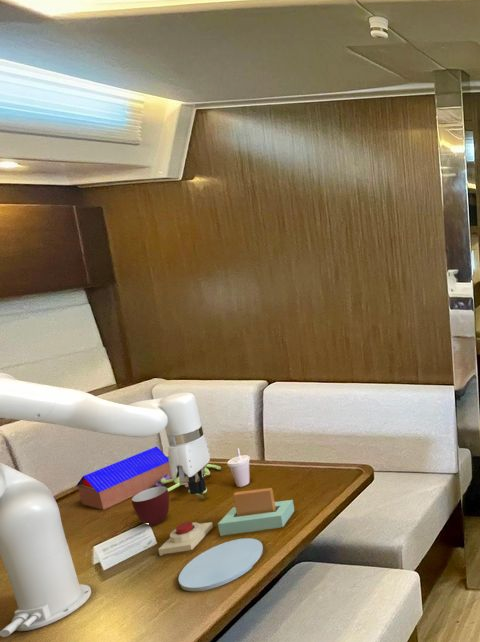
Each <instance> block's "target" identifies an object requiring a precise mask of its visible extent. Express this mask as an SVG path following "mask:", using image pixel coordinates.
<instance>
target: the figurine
mask: <svg viewBox="0 0 480 642" xmlns="http://www.w3.org/2000/svg"><path fill="white" fill-rule="evenodd" d="M209 468H210V469H213V470H218V471H219V470H221V469H222V466H220V465H216V464H210V463H208V464H207V466H206V467H205V469H204V473H205V476H204V477H209V476H210V475H211V471H210V470H209ZM173 482H174V483H175V484H174V485H171V486H170V487H167V489H168V493H169V492H171V491H173V490H175V489H177V488H178V487H180V486H184V487H185V488H189V485H188V483H185V484H180V482H179V477H178V478H177V479H172V477H170V476H169V475H168V474H166V475H164V476H163V477H162V478H161V479H159V480H158V481H157V482H156V483H155V486H156V487H159V486H164V487H165V486H166V484H170V483H173ZM187 492H188V493H189V494H190V490H189V489H188V491H187ZM207 492H208V488H207V487H206V490H205V491H204V492H203V493H199V494H192V495H193V496H196V497H199V498H200V499H206V498H205V496H204V495H202V494H206V493H207Z"/></svg>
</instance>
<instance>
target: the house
mask: <svg viewBox="0 0 480 642" xmlns="http://www.w3.org/2000/svg"><path fill="white" fill-rule="evenodd" d="M166 474H168V475H169V476H170V477H171V473H170V467H169V458H168V456H167V455H166V454H165V453H164V452H163V451H162V450H161V449H160V448H159V447H158V446H154V447H152V448H149V449H147V450H144V451H141V452H139V453H137V454H134V455H131V456H129V457H127V458H124V459H122V460H119V461H117V462H114V463H112V464H109V465H107V466H104V467H102V468H99V469H96V470H95V471H92V472H89V473H87V474H84V475H83V476H82V477H81V478H80V479H79V481H78V483H76V485H75V487H77V490H78V493H79V497H80V501H81V505H85V506H88V507H92V508H96V509H98V510H99V509H100V510H106V509H109V508H110V507H113V506H115V505H117V504H120V503H121V502H123V501H126V500H128V499H130V498H133V497H134V496H135V495H136V494H138V493H140V492H142V491H144V490H147V489H150V488H154V487H156V485H155V483H156V482H157V481H158V480H159V479H161V478H162V477H163V476H164V475H166Z"/></svg>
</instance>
